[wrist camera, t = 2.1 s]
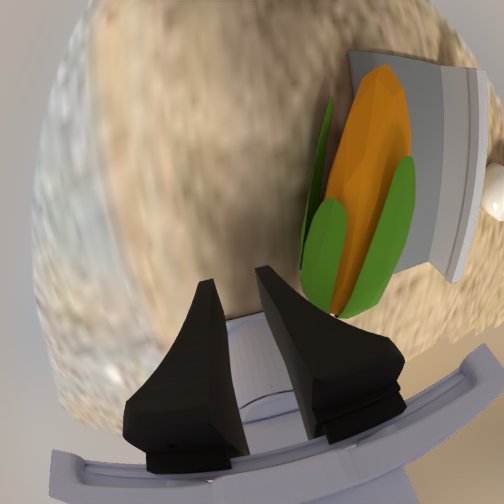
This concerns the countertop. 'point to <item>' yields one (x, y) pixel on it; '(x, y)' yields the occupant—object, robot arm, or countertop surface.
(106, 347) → the countertop surface
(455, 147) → the bracket
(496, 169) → the white glossy round part
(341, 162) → the toy fruit
